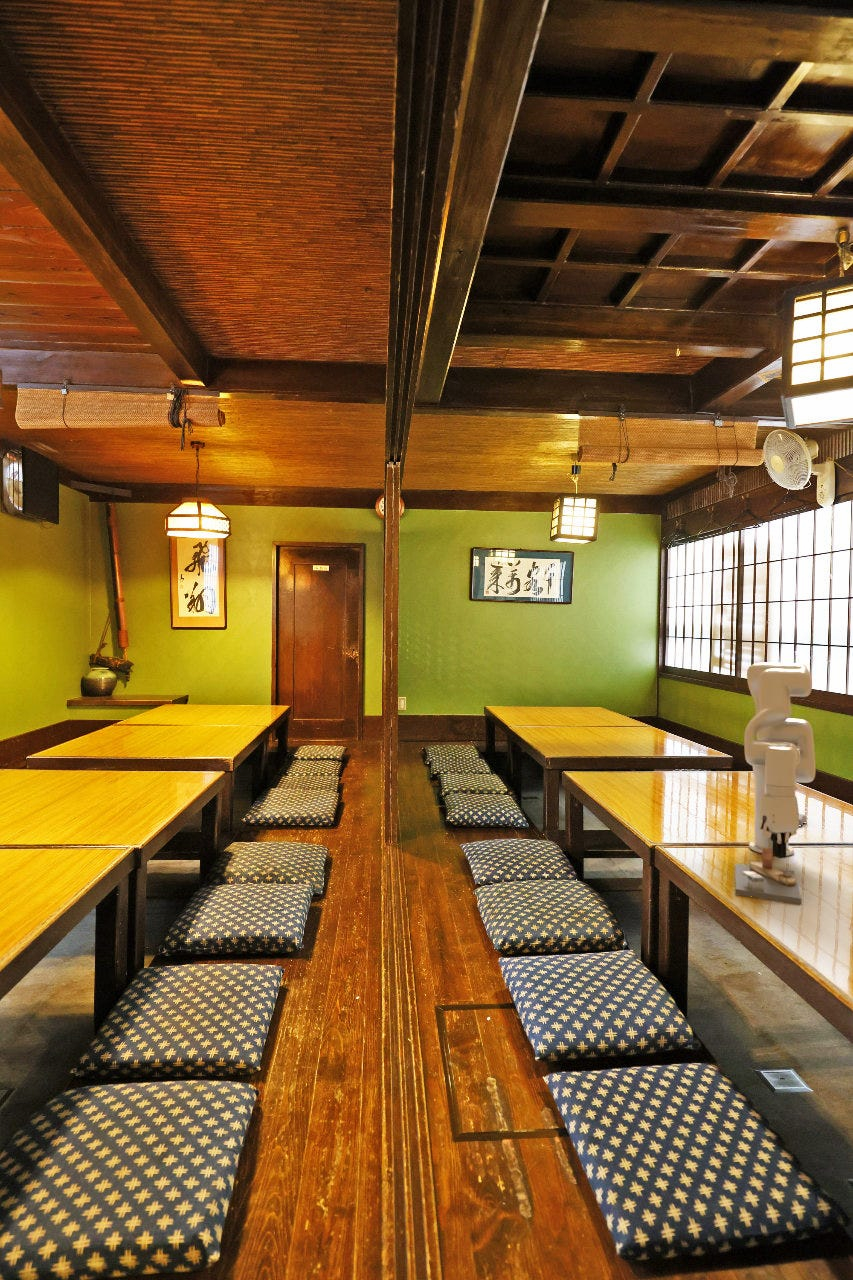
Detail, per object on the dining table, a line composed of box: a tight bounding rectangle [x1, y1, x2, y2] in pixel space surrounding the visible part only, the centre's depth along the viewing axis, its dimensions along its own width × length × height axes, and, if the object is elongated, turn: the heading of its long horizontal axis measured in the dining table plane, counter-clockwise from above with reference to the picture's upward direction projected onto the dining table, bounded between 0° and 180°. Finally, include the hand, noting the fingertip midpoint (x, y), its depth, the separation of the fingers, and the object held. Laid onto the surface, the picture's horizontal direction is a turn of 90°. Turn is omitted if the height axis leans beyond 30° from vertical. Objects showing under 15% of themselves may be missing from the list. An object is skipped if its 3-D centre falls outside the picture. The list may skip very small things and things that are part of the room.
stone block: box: [799, 813, 808, 825], centre depth 247 cm, size 12×5×10 cm
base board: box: [734, 862, 802, 905], centre depth 183 cm, size 22×15×2 cm
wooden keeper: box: [742, 871, 764, 890], centre depth 177 cm, size 3×5×3 cm, turn 4°
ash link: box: [748, 848, 797, 885], centre depth 185 cm, size 14×4×7 cm, turn 16°
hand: (779, 856), depth 188 cm, fingers closed
